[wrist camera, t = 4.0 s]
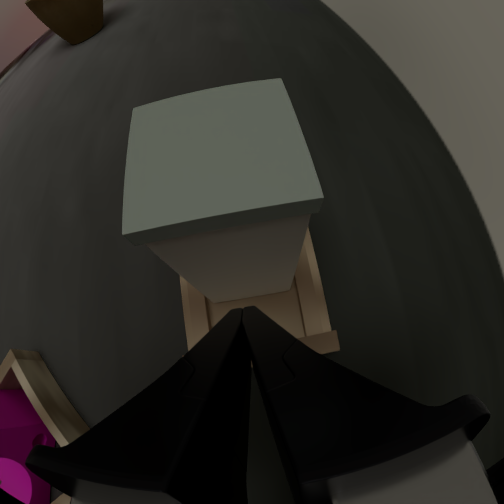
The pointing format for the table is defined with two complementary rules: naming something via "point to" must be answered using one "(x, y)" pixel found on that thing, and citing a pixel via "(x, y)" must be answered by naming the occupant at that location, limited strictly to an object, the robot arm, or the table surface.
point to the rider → (222, 188)
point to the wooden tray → (272, 307)
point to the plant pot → (70, 17)
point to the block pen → (43, 398)
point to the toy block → (21, 447)
